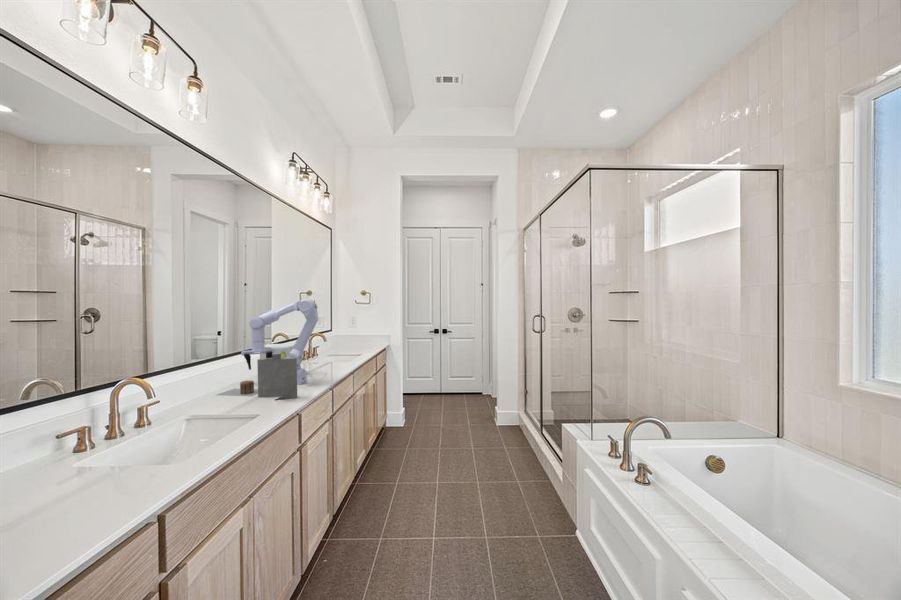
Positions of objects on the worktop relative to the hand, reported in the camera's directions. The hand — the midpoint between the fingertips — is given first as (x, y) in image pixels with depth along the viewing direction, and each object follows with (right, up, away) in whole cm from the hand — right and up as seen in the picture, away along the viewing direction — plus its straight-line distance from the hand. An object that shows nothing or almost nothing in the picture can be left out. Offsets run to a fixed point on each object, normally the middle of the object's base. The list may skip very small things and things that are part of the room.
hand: (258, 368), depth 182 cm
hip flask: (+20, -9, -22) cm, 31 cm away
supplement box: (-2, -10, +27) cm, 28 cm away
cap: (+4, -8, -17) cm, 19 cm away
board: (+1, -9, -15) cm, 18 cm away
